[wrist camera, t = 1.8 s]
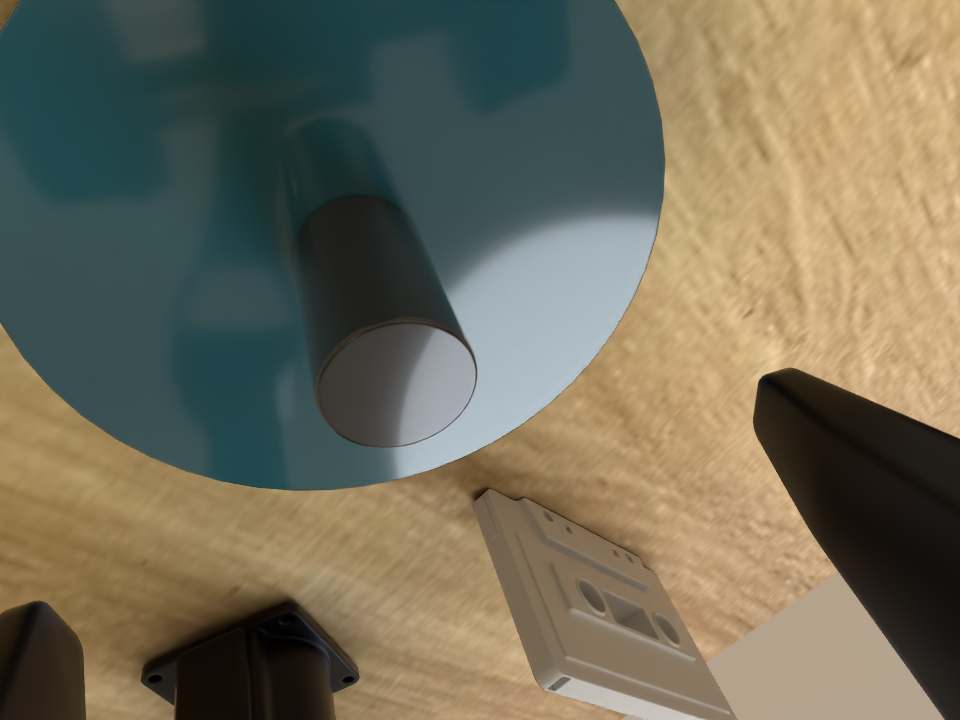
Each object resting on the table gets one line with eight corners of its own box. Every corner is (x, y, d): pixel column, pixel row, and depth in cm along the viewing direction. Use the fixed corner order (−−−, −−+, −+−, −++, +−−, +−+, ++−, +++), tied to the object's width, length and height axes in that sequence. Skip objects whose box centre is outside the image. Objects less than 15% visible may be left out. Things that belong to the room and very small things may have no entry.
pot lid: (677, 328, 19) (797, 471, 15) (225, 528, 19) (228, 725, 15) (567, -299, 11) (770, -341, 7) (-234, 46, 10) (-494, 204, 7)
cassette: (664, 566, 35) (756, 725, 29) (635, 590, 35) (718, 751, 29) (493, 476, 28) (569, 662, 22) (459, 507, 28) (524, 697, 22)
